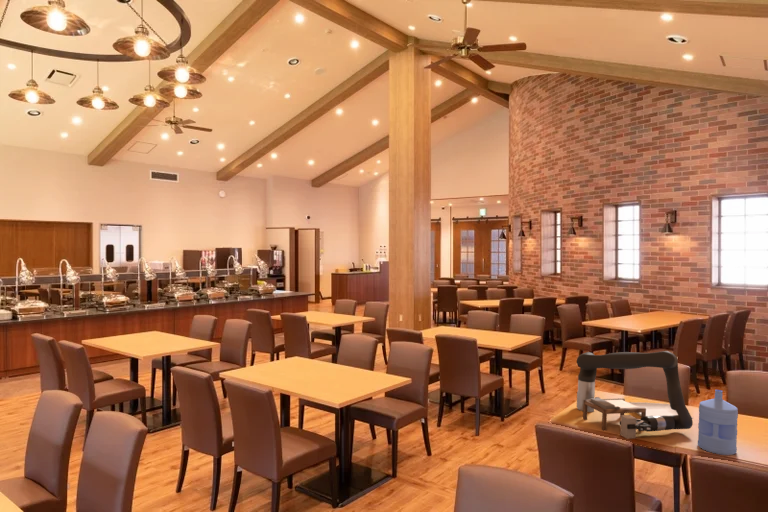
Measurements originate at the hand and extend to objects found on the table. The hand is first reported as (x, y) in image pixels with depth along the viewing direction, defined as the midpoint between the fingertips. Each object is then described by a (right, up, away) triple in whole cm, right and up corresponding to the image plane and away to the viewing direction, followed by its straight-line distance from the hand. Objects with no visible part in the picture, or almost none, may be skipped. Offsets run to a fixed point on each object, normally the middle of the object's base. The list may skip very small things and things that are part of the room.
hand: (623, 424), depth 262 cm
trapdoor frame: (+4, -6, +20) cm, 21 cm away
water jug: (+38, -7, -13) cm, 41 cm away
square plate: (+36, -7, +37) cm, 52 cm away
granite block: (+2, -6, +1) cm, 7 cm away
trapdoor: (+4, +2, +20) cm, 21 cm away
